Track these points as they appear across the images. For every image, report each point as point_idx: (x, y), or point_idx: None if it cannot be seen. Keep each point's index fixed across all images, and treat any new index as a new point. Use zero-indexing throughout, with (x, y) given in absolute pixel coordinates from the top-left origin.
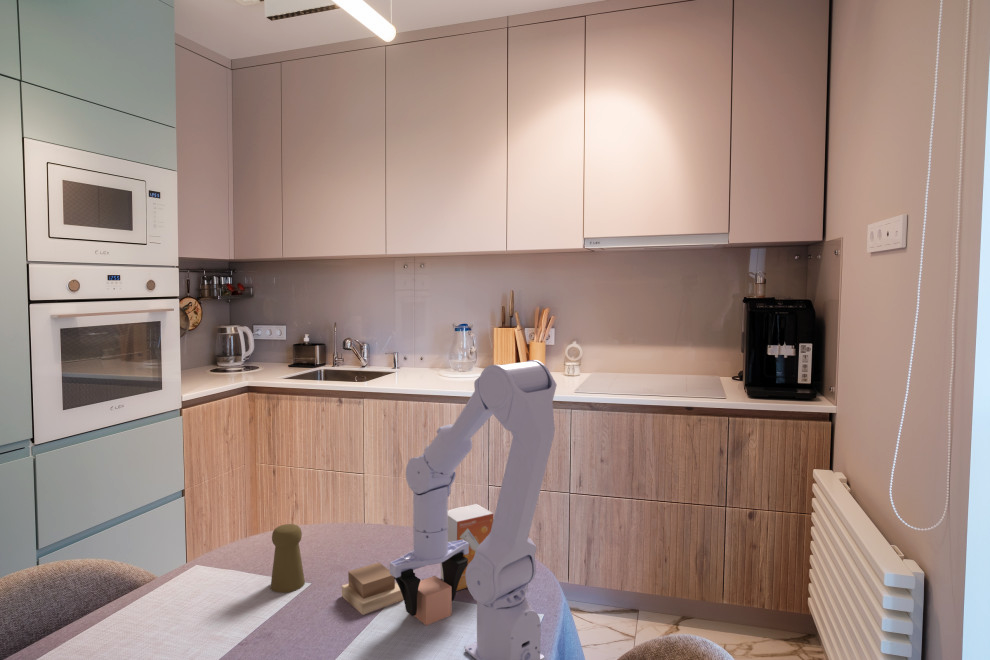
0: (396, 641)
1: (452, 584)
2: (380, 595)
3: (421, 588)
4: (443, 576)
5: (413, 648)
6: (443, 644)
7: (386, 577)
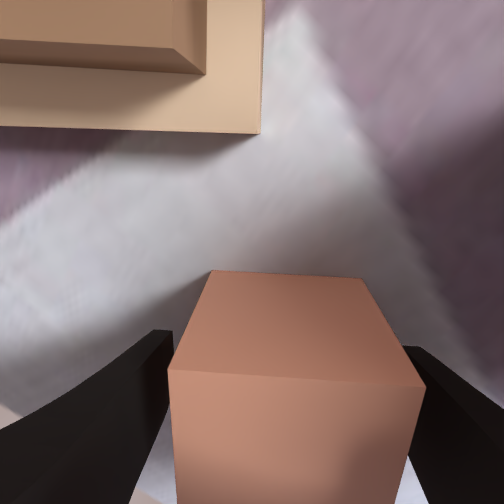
0: None
1: (433, 493)
2: (72, 103)
3: (207, 457)
4: (473, 419)
5: None
6: None
7: (72, 44)
